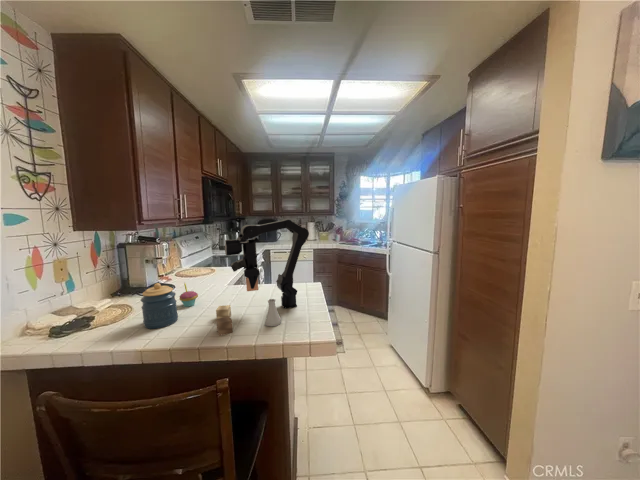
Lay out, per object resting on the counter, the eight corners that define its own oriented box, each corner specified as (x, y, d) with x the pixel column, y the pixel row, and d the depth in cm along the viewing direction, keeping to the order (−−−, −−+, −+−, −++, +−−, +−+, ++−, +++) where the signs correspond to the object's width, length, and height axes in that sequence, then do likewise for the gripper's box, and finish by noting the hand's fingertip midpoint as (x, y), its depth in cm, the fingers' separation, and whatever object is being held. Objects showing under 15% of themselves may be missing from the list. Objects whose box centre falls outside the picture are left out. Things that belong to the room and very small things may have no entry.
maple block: (231, 315, 121) (230, 305, 120) (228, 320, 116) (227, 309, 115) (219, 316, 120) (219, 305, 120) (216, 321, 115) (215, 310, 115)
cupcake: (176, 307, 134) (173, 284, 132) (190, 301, 142) (188, 279, 140) (188, 309, 130) (186, 285, 129) (202, 303, 138) (200, 280, 137)
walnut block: (229, 327, 109) (228, 316, 108) (232, 332, 104) (231, 320, 104) (217, 331, 106) (215, 319, 105) (219, 336, 102) (218, 323, 101)
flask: (278, 327, 107) (276, 303, 106) (261, 326, 109) (259, 302, 107) (284, 319, 114) (282, 297, 113) (268, 319, 116) (266, 296, 114)
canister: (158, 331, 107) (153, 288, 105) (136, 327, 112) (131, 286, 110) (185, 318, 119) (181, 280, 117) (163, 315, 124) (159, 278, 122)
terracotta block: (257, 287, 124) (256, 276, 124) (258, 290, 120) (257, 279, 119) (246, 288, 123) (245, 277, 122) (246, 291, 118) (246, 280, 118)
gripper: (231, 251, 126) (234, 283, 128) (230, 258, 108) (233, 295, 110) (255, 249, 129) (257, 280, 131) (258, 256, 111) (260, 292, 113)
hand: (252, 286), depth 121 cm, fingers closed on terracotta block, 5 cm apart
